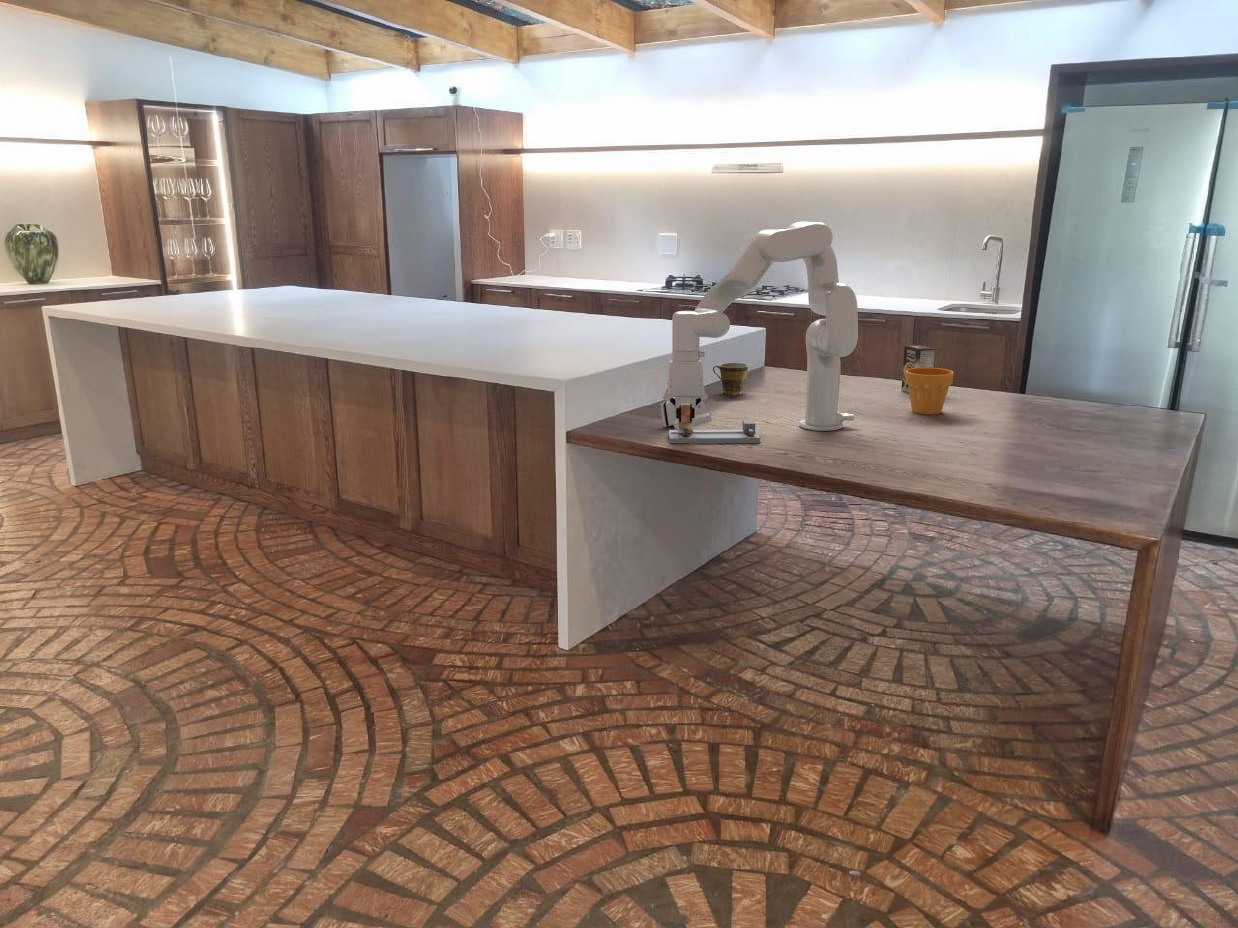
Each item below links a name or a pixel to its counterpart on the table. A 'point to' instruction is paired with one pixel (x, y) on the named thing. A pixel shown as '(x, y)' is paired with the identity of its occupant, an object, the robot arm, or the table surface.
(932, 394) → the flower pot
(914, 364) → the coffee box
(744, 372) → the ceramic cup
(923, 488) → the table surface
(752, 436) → the gauge board
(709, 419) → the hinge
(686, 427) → the block
